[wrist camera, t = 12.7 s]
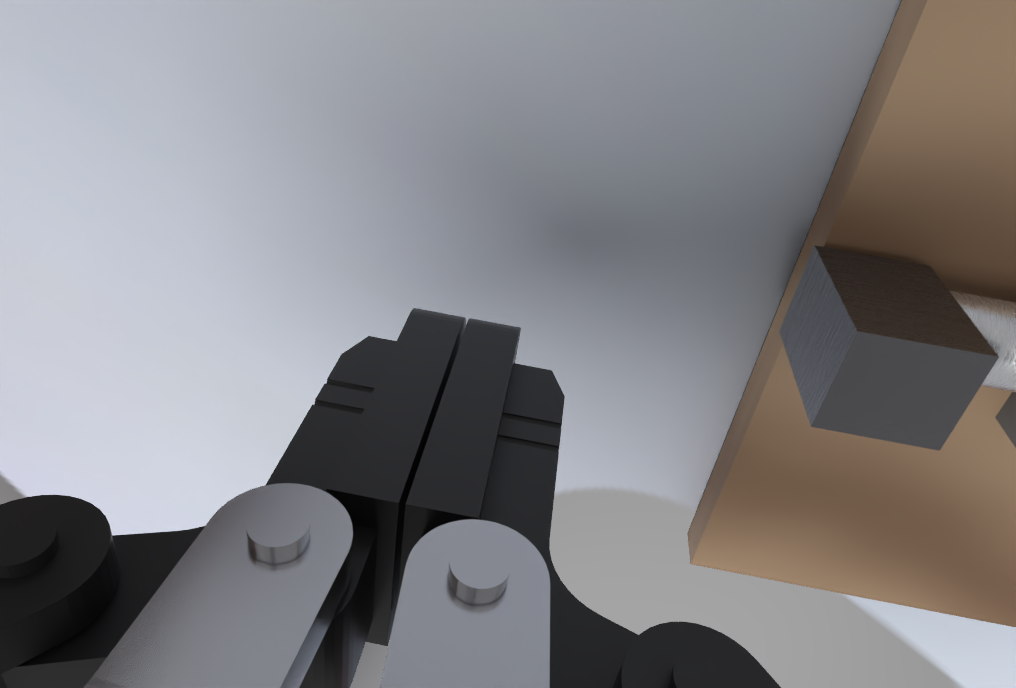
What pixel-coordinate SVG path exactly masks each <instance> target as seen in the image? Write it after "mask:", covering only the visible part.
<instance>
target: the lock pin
mask: <svg viewBox="0 0 1016 688" xmlns="http://www.w3.org/2000/svg"><path fill="white" fill-rule="evenodd" d="M779 332H780V335H781V338H782V341H783V344H784V347H785V350H786V353H787V356H788V359H789V362H790V365H791V368H792V371H793V375H794V378H795V381H796V384H797V387H798V390H799V393H800V396H801V399H802V402H803V405H804V408H805V411H806V414H807V417H808V420H809V423H810V426H811V427H815V428H820V429H826V430H831V431H836V432H842V433H847V434H852V435H858V436H863V437H868V438H874V439H879V440H885V441H890V442H895V443H901V444H906V445H911V446H917V447H922V448H927V449H933V450H938V451H940V450H941V448H942V447H943V445H944V443H945V442H946V440H947V439H948V437H949V436H950V434H951V432H952V431H953V429H954V428H955V426H956V424H957V423H958V421H959V420H960V418H961V417H962V415H963V413H964V412H965V410H966V409H967V407H968V405H969V404H970V402H971V401H972V399H973V398H974V396H975V394H976V393H977V391H978V390H979V388H980V387H981V386H983V387H989V388H994V389H1000V390H1005V391H1011V392H1016V302H1011V301H1005V300H1000V299H994V298H988V297H983V296H977V295H972V294H966V293H960V292H955V291H949V290H948V289H947V287H946V286H945V285H944V283H943V282H942V281H941V280H940V278H939V277H938V276H937V274H936V273H935V272H934V270H933V269H932V268H931V266H929V265H923V264H918V263H912V262H906V261H901V260H895V259H889V258H884V257H878V256H873V255H867V254H861V253H856V252H850V251H844V250H839V249H833V248H827V247H822V246H816V245H814V247H813V250H812V252H811V255H810V257H809V259H808V262H807V264H806V267H805V269H804V272H803V274H802V276H801V279H800V281H799V284H798V286H797V289H796V291H795V293H794V296H793V298H792V301H791V303H790V306H789V308H788V310H787V313H786V315H785V318H784V320H783V323H782V325H781V327H780V330H779Z"/></svg>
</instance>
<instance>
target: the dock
mask: <svg viewBox="0 0 1016 688" xmlns="http://www.w3.org/2000/svg"><path fill="white" fill-rule="evenodd" d="M814 245H816V246H822V247H827V248H833V249H839V250H844V251H850V252H856V253H861V254H867V255H873V256H878V257H884V258H889V259H895V260H901V261H906V262H912V263H918V264H923V265H929V266H931V268H932V269H933V270H934V272H935V273H936V274H937V276H938V277H939V278H940V280H941V281H942V282H943V283H944V285H945V286H946V287H947V289H948V290H949V291H955V292H960V293H966V294H972V295H977V296H983V297H988V298H994V299H1000V300H1005V301H1011V302H1016V0H902V1H901V3H900V6H899V8H898V11H897V13H896V16H895V18H894V21H893V23H892V26H891V28H890V31H889V33H888V36H887V38H886V41H885V43H884V46H883V48H882V51H881V53H880V56H879V58H878V61H877V63H876V66H875V68H874V71H873V73H872V76H871V78H870V81H869V83H868V86H867V88H866V91H865V93H864V96H863V98H862V100H861V103H860V105H859V108H858V110H857V113H856V115H855V118H854V120H853V123H852V125H851V128H850V130H849V133H848V135H847V138H846V140H845V143H844V145H843V148H842V150H841V153H840V155H839V158H838V160H837V163H836V165H835V168H834V170H833V173H832V175H831V178H830V180H829V183H828V185H827V188H826V190H825V193H824V195H823V198H822V200H821V202H820V205H819V207H818V210H817V212H816V215H815V217H814V220H813V222H812V225H811V227H810V230H809V232H808V235H807V237H806V240H805V242H804V245H803V247H802V250H801V252H800V255H799V257H798V260H797V262H796V265H795V267H794V270H793V272H792V275H791V277H790V280H789V282H788V285H787V287H786V290H785V292H784V295H783V297H782V300H781V302H780V304H779V307H778V309H777V312H776V314H775V317H774V319H773V322H772V324H771V327H770V329H769V332H768V334H767V337H766V339H765V342H764V344H763V347H762V349H761V352H760V354H759V357H758V359H757V362H756V364H755V367H754V369H753V372H752V374H751V377H750V379H749V382H748V384H747V387H746V389H745V392H744V394H743V397H742V399H741V402H740V404H739V406H738V409H737V411H736V414H735V416H734V419H733V421H732V424H731V426H730V429H729V431H728V434H727V436H726V439H725V441H724V444H723V446H722V449H721V451H720V454H719V456H718V459H717V461H716V464H715V466H714V469H713V471H712V474H711V476H710V479H709V481H708V484H707V486H706V489H705V491H704V494H703V496H702V499H701V501H700V504H699V506H698V509H697V511H696V513H695V516H694V519H693V521H692V523H691V526H690V528H689V531H688V541H689V552H690V563H691V564H694V565H698V566H704V567H709V568H714V569H719V570H724V571H730V572H734V573H740V574H745V575H750V576H755V577H760V578H766V579H771V580H776V581H781V582H787V583H791V584H796V585H801V586H806V587H812V588H817V589H822V590H827V591H832V592H837V593H842V594H847V595H853V596H858V597H863V598H868V599H873V600H878V601H883V602H889V603H894V604H899V605H904V606H909V607H914V608H919V609H925V610H930V611H935V612H940V613H945V614H950V615H955V616H961V617H966V618H971V619H976V620H981V621H986V622H991V623H997V624H1002V625H1007V626H1012V627H1016V392H1011V391H1005V390H1000V389H994V388H989V387H983V386H981V387H980V388H979V390H978V391H977V393H976V394H975V396H974V398H973V399H972V401H971V402H970V404H969V405H968V407H967V409H966V410H965V412H964V413H963V415H962V417H961V418H960V420H959V421H958V423H957V424H956V426H955V428H954V429H953V431H952V432H951V434H950V436H949V437H948V439H947V440H946V442H945V443H944V445H943V447H942V448H941V450H940V451H938V450H933V449H927V448H922V447H917V446H911V445H906V444H901V443H895V442H890V441H885V440H879V439H874V438H868V437H863V436H858V435H852V434H847V433H842V432H836V431H831V430H826V429H820V428H815V427H811V426H810V423H809V420H808V417H807V414H806V411H805V408H804V405H803V402H802V399H801V396H800V393H799V390H798V387H797V384H796V381H795V378H794V375H793V371H792V368H791V365H790V362H789V359H788V356H787V353H786V350H785V347H784V344H783V341H782V338H781V335H780V332H779V330H780V327H781V325H782V323H783V320H784V318H785V315H786V313H787V310H788V308H789V306H790V303H791V301H792V298H793V296H794V293H795V291H796V289H797V286H798V284H799V281H800V279H801V276H802V274H803V272H804V269H805V267H806V264H807V262H808V259H809V257H810V255H811V252H812V250H813V247H814Z"/></svg>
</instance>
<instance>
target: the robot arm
mask: <svg viewBox="0 0 1016 688" xmlns="http://www.w3.org/2000/svg"><path fill="white" fill-rule="evenodd" d="M520 330H521V328H519V327H513V326H508V325H503V324H497V323H492V322H487V321H481V320H476V319H471V318H470V319H469V320H468V322H467V325H466V318H464V317H459V316H454V315H448V314H443V313H438V312H432V311H427V310H422V309H416V308H414V309H413V310H412V311H411V313H410V315H409V317H408V319H407V321H406V323H405V325H404V327H403V329H402V331H401V333H400V336H399V338H398V340H397V341H392V340H387V339H381V338H376V337H371V336H368V337H367V338H365V339H364V340H362V341H361V342H359V343H358V344H356V345H355V346H353V347H352V348H350V349H349V350H347V351H346V352H344V353H343V354H342V355H341V356H340V358H339V360H338V362H337V363H336V365H335V367H334V368H333V370H332V372H331V374H330V375H329V377H328V379H327V384H324V386H323V387H322V389H321V391H320V393H319V394H318V396H317V398H316V399H315V404H314V405H312V406H311V408H310V410H309V411H308V413H307V415H306V417H305V418H304V420H303V422H302V424H301V425H300V427H299V429H298V430H297V432H296V434H295V436H294V437H293V439H292V441H291V442H290V444H289V446H288V448H287V449H286V451H285V453H284V454H283V456H282V458H281V460H280V461H279V463H278V465H277V467H276V468H275V470H274V472H273V473H272V475H271V477H270V479H269V480H268V482H267V484H266V485H265V486H261V487H258V488H255V489H252V490H249V491H247V492H244V493H242V494H240V495H238V496H236V497H235V498H233V499H232V500H230V501H228V502H227V503H226V504H225V505H224V506H222V507H221V508H220V509H219V510H218V511H217V512H216V513H215V514H214V516H213V517H212V518H211V519H210V521H209V522H208V523H207V525H206V526H203V527H199V528H194V529H190V530H182V531H172V532H158V533H144V534H129V535H115V536H112V533H111V529H110V525H109V523H108V521H107V519H106V516H105V515H104V514H103V513H102V512H101V511H100V509H98V508H97V507H95V506H94V505H93V504H91V503H89V502H87V501H84V500H82V499H79V498H75V497H71V496H62V495H40V496H33V497H26V498H22V499H18V500H13V501H10V502H7V503H4V504H1V505H0V688H350V686H351V683H352V681H353V678H354V674H355V672H356V668H357V665H358V663H359V659H360V657H361V653H362V650H363V648H364V645H365V642H370V643H375V644H380V645H385V646H388V643H389V646H388V651H387V655H386V660H385V665H384V669H383V674H382V679H381V683H380V688H781V687H780V686H779V685H778V684H777V683H776V682H775V680H774V679H773V678H772V677H771V676H770V675H769V674H768V673H767V671H766V670H765V669H764V668H763V667H762V666H761V665H760V663H759V662H758V661H757V660H756V659H755V658H754V657H753V656H752V655H751V654H750V653H749V652H748V651H747V650H746V649H744V648H743V647H742V646H741V645H739V644H738V643H737V642H735V641H734V640H732V639H731V638H729V637H728V636H726V635H724V634H722V633H720V632H718V631H716V630H714V629H711V628H709V627H706V626H702V625H699V624H695V623H688V622H669V623H663V624H659V625H656V626H654V627H651V628H649V629H647V630H646V631H644V632H643V633H641V634H640V635H637V634H635V633H633V632H632V631H629V630H628V629H626V628H624V627H622V626H620V625H618V624H616V623H614V622H612V621H610V620H608V619H606V618H604V617H603V616H601V615H599V614H597V613H596V612H594V611H592V610H591V609H589V608H587V607H586V606H585V605H584V604H582V603H581V602H580V601H579V600H577V599H576V598H575V597H574V596H573V595H572V594H571V593H570V592H569V591H568V589H567V588H566V587H565V585H564V584H563V583H562V581H561V580H560V578H559V576H558V574H557V573H556V571H555V569H554V566H553V563H552V561H551V556H550V551H549V538H550V529H551V519H552V510H553V500H554V491H555V482H556V472H557V463H558V453H559V452H558V450H559V444H560V434H561V424H562V415H563V406H564V397H565V396H564V394H563V392H562V390H561V388H560V386H559V384H558V382H557V380H556V378H555V376H554V374H553V372H552V370H546V369H541V368H536V367H530V366H525V365H520V364H515V359H516V354H517V348H518V342H519V336H520ZM389 640H390V641H389Z"/></svg>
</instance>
